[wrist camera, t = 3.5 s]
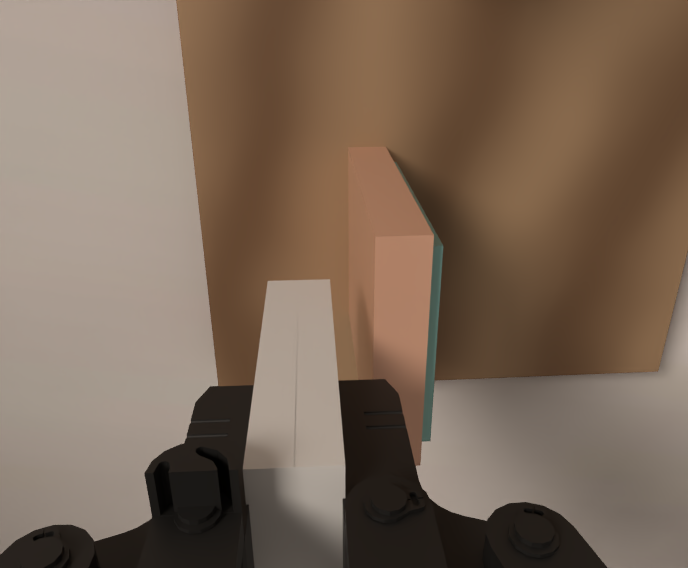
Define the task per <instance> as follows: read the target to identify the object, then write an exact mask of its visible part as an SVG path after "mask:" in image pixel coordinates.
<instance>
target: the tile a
mask: <svg viewBox="0 0 688 568" xmlns="http://www.w3.org/2000/svg"><path fill="white" fill-rule="evenodd" d="M348 228H349V319H350V326H351V333H352V340H353V346H354V353H355V360H356V367H357V373H358V380H369V379H386V380H387V382H388V383H389V384H390V385H391V386H392V387H393V388H394V389H395V390H396V391H397V392H398V393H399V397H400V401H401V406H402V410H403V414H404V419H405V423H406V428H407V432H408V436H409V440H410V445H411V449H412V453H413V458H414V462H415V466H417V465H420V462H421V445H422V441H430V437H431V422H432V407H433V392H434V377H435V362H436V347H437V332H438V317H439V303H440V288H441V273H442V258H443V244H442V242H441V241H440V239H439V237H438V235H437V234H436V232H435V230H434V228H433V226H432V225H431V223H430V221H429V219H428V217H427V216H426V214H425V212H424V210H423V209H422V207H421V205H420V203H419V201H418V200H417V198H416V196H415V194H414V192H413V191H412V189H411V187H410V185H409V183H408V182H407V180H406V178H405V176H404V175H403V173H402V171H401V169H400V167H399V166H398V164H397V162H394V161H393V159H392V157H391V155H390V154H389V152H388V150H387V148H386V147H348Z"/></svg>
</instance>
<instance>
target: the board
mask: <svg viewBox="0 0 688 568" xmlns="http://www.w3.org/2000/svg"><path fill="white" fill-rule="evenodd" d="M176 2H177V11H178V20H179V29H180V39H181V48H182V57H183V66H184V75H185V84H186V93H187V102H188V112H189V121H190V130H191V139H192V148H193V157H194V166H195V176H196V185H197V194H198V203H199V212H200V221H201V230H202V240H203V249H204V258H205V267H206V276H207V285H208V294H209V304H210V313H211V322H212V331H213V340H214V349H215V358H216V368H217V377H218V386H242V385H254V381H255V373H256V366H257V358H258V350H259V343H260V335H261V328H262V320H263V313H264V305H265V298H266V290H267V283H268V281H282V280H321V279H330V287H331V299H332V311H333V323H334V335H335V347H336V359H337V371H338V381H339V380H358V373H357V367H356V360H355V353H354V346H353V340H352V333H351V326H350V319H349V228H348V147H386V148H387V150H388V152H389V154H390V155H391V157H392V159H393V161H394V162H397V164H398V166H399V167H400V169H401V171H402V173H403V175H404V176H405V178H406V180H407V182H408V183H409V185H410V187H411V189H412V191H413V192H414V194H415V196H416V198H417V200H418V201H419V203H420V205H421V207H422V209H423V210H424V212H425V214H426V216H427V217H428V219H429V221H430V223H431V225H432V226H433V228H434V230H435V232H436V234H437V235H438V237H439V239H440V241H441V242H442V244H443V258H442V273H441V288H440V303H439V317H438V332H437V347H436V362H435V377H434V380H455V379H480V378H505V377H530V376H555V375H580V374H605V373H630V372H654V371H658V369H659V365H660V361H661V357H662V353H663V349H664V345H665V341H666V337H667V333H668V329H669V325H670V321H671V317H672V313H673V309H674V305H675V301H676V297H677V293H678V289H679V285H680V280H681V276H682V272H683V268H684V264H685V260H686V256H687V252H688V0H176Z"/></svg>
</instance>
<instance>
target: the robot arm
mask: <svg viewBox="0 0 688 568" xmlns="http://www.w3.org/2000/svg"><path fill="white" fill-rule="evenodd" d="M145 479H146V484H147V490H148V495H149V501H150V507H151V512H152V519H151V520H149V521H148V522H146V523H144V524H143V525H141V526H139V527H138V528H135V529H133V530H130V531H127V532H125V533H122V534H119V535H115V536H112V537H109V538H105V539H102V540H99V541H95V542H94V540H93V539H92V537H91V536H90V535H89V534H88V533H87V531H86V530H84V529H81V528H79V527H76V526H73V525H52V526H49V527H45V528H42V529H38V530H35V531H33V532H31V533H29V534H27V535H25V536H24V537H22V538H20V539H18V540H16V541H15V542H14V543H13V544H12V545H11V546H9V547H8V548H7V549H6V550H5V551H4V552H3V553H2V554H1V555H0V568H607V567H606V565H605V564H604V563H603V562H602V561H601V559H600V558H599V557H598V556H597V554H596V553H595V552H594V551H593V550H592V548H591V547H590V546H589V545H588V543H587V542H586V541H585V540H584V539H583V537H582V536H581V535H580V534H579V532H578V531H577V530H576V529H575V528H574V526H573V525H572V524H570V523H569V522H568V521H567V520H566V519H565V518H564V517H563V516H561V515H560V514H559V513H557V512H555V511H553V510H551V509H549V508H547V507H545V506H541V505H537V504H532V503H527V502H522V503H509V504H507V505H505V506H502V507H500V508H498V509H496V510H495V511H494V512H493V513H492V515H491V516H490V517H489V518H488V520H487V521H484V520H480V519H475V518H471V517H466V516H462V515H459V514H456V513H452V512H450V511H448V510H446V509H444V508H442V507H440V506H438V505H437V504H436V503H435V502H433V501H432V500H431V499H430V498H429V497H428V495H427V493H426V492H425V491H424V490H423V489H422V487H421V485H420V482H419V479H418V475H417V471H416V466H415V462H414V458H413V453H412V449H411V445H410V440H409V436H408V432H407V428H406V423H405V419H404V414H403V410H402V406H401V401H400V397H399V393H398V392H397V391H396V390H395V389H394V388H393V387H392V386H391V385H390V384H389V383H388V382H387V380H386V379H369V380H339V381H338V371H337V359H336V347H335V335H334V323H333V311H332V299H331V287H330V279H321V280H282V281H268V283H267V290H266V298H265V305H264V313H263V320H262V328H261V335H260V343H259V350H258V358H257V366H256V373H255V381H254V385H242V386H212V387H209V388H208V390H207V391H206V392H205V393H204V394H203V395H202V396H201V397H200V398H199V399H198V400H197V401H196V403H195V407H194V410H193V414H192V418H191V424H190V425H189V429H188V433H187V438H186V440H185V444H180V445H178V446H176V447H173V448H171V449H169V450H166V451H164V452H163V453H162V454H161V455H159V456H158V457H157V458H155V459H154V460H153V461H152V462H151V464H150V465H149V467H148V469H147V470H146V472H145Z"/></svg>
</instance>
